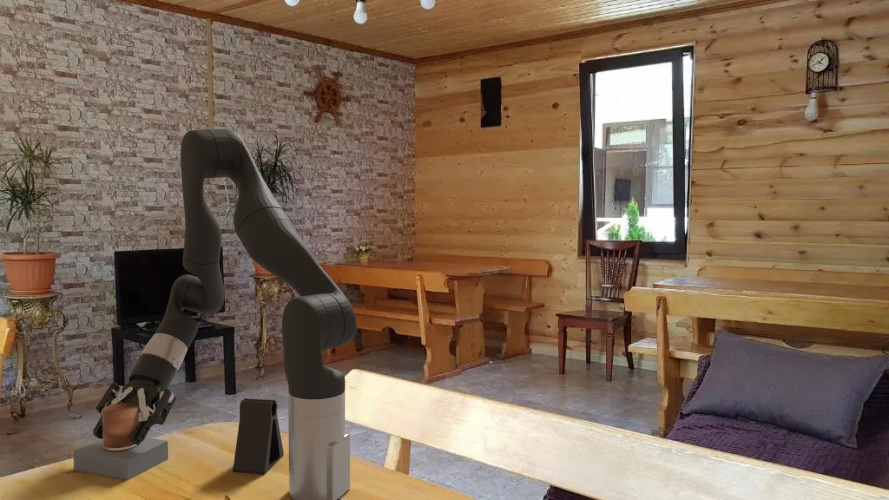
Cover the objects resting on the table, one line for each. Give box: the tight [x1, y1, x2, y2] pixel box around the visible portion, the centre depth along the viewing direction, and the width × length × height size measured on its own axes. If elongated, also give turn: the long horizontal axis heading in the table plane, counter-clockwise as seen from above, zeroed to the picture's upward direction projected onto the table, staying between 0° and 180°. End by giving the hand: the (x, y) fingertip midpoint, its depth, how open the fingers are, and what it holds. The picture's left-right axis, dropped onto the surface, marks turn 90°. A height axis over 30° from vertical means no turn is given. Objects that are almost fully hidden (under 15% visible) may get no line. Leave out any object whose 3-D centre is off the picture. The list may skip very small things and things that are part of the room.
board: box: [73, 436, 169, 481], centre depth 126 cm, size 12×10×4 cm
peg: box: [102, 402, 140, 452], centre depth 125 cm, size 6×6×10 cm
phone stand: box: [232, 397, 285, 475], centre depth 126 cm, size 9×6×12 cm, turn 171°
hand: (115, 440), depth 124 cm, fingers open, 8 cm apart
